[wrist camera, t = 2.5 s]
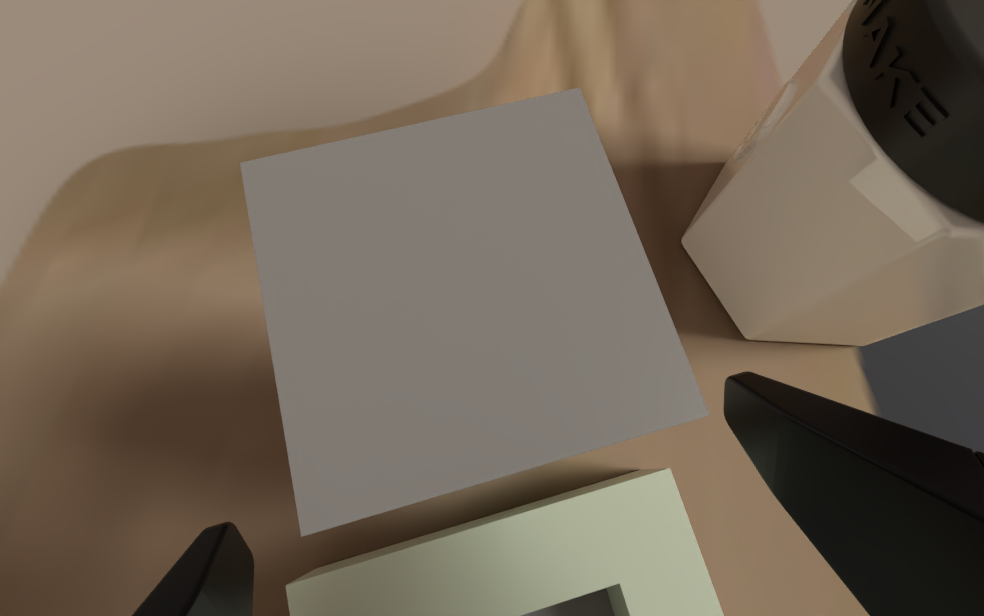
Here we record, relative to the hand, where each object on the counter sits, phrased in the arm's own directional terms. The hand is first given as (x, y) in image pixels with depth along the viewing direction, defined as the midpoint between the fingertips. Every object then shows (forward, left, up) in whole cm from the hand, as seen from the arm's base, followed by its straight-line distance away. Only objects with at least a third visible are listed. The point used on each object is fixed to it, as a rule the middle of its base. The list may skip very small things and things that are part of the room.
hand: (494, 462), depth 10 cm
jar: (+5, -14, -10) cm, 18 cm away
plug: (+2, 0, -10) cm, 10 cm away
